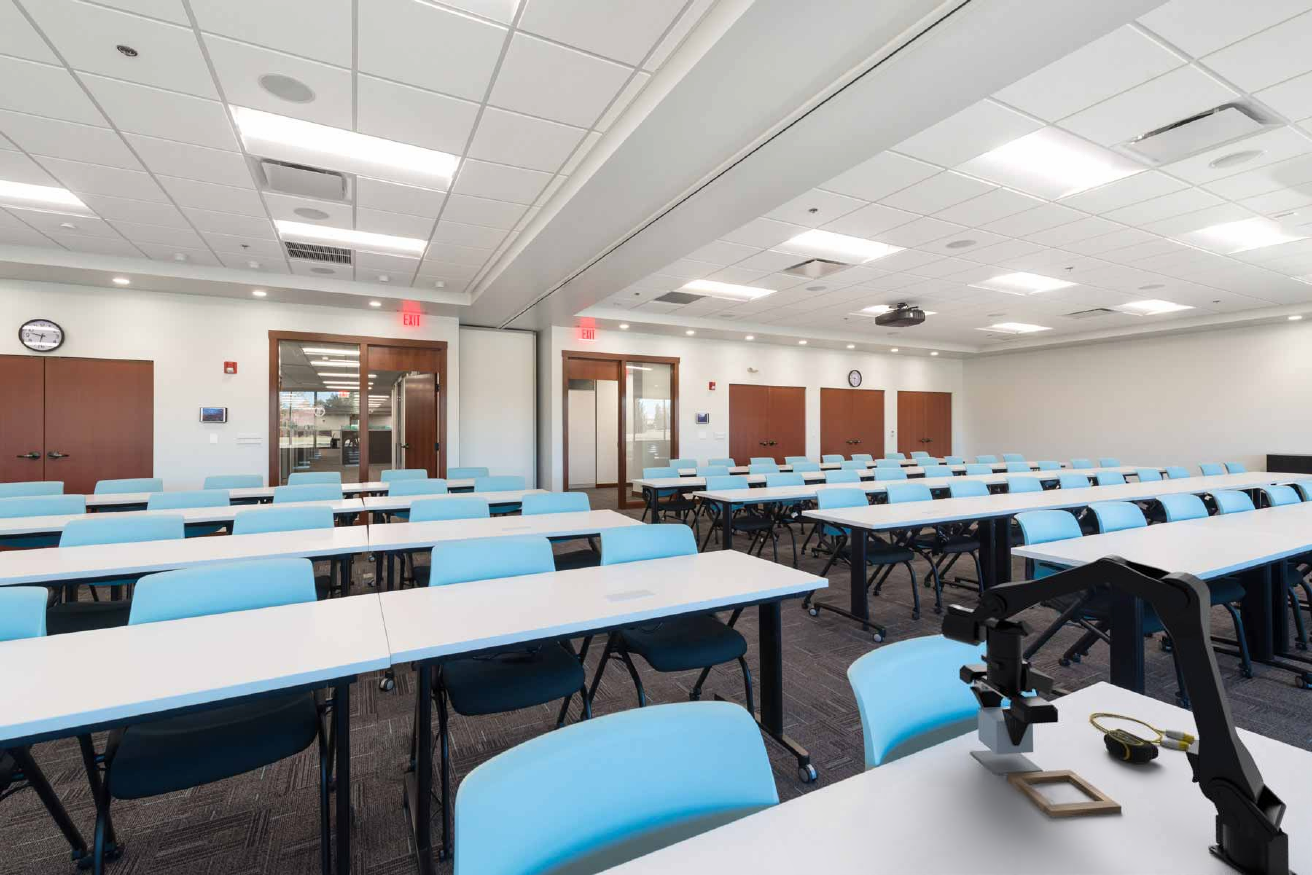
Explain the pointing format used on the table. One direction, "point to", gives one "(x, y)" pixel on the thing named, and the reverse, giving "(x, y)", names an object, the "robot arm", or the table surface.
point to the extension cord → (1170, 733)
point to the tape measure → (1130, 746)
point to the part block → (1001, 732)
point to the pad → (1005, 762)
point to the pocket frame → (1068, 809)
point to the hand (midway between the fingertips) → (1005, 737)
